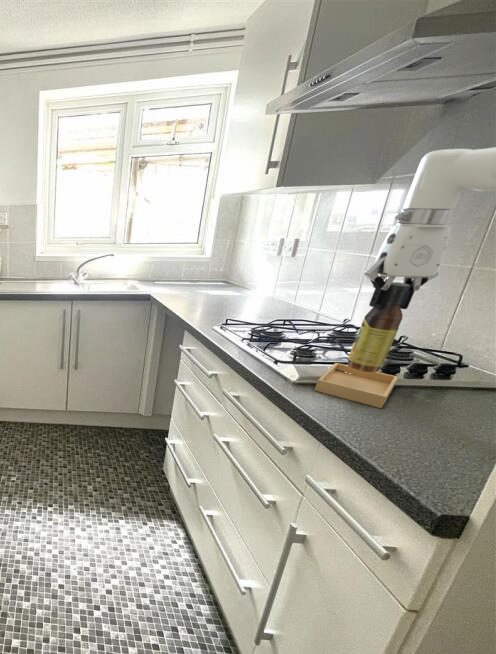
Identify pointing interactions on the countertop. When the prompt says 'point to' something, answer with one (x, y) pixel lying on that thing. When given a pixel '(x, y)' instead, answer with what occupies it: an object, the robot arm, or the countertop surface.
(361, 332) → the sauce bottle
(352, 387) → the serving tray
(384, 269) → the robot arm
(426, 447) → the countertop surface
